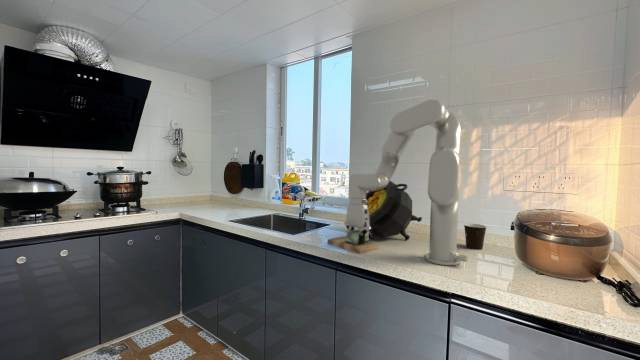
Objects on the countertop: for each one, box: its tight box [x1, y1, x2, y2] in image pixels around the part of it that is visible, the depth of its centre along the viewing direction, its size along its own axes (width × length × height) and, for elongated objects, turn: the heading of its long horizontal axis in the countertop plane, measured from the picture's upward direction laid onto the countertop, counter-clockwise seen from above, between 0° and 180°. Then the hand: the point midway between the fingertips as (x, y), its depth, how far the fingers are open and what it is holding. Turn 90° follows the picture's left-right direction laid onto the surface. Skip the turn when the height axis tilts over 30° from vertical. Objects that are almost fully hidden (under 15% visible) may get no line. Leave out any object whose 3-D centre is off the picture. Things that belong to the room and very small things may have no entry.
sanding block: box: [345, 228, 370, 245], centre depth 125 cm, size 5×9×5 cm, turn 130°
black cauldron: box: [366, 180, 423, 241], centre depth 142 cm, size 28×28×24 cm
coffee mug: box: [464, 223, 487, 251], centre depth 125 cm, size 12×9×10 cm
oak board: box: [327, 234, 380, 255], centre depth 127 cm, size 20×12×2 cm, turn 41°
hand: (356, 241), depth 125 cm, fingers closed on sanding block, 5 cm apart
